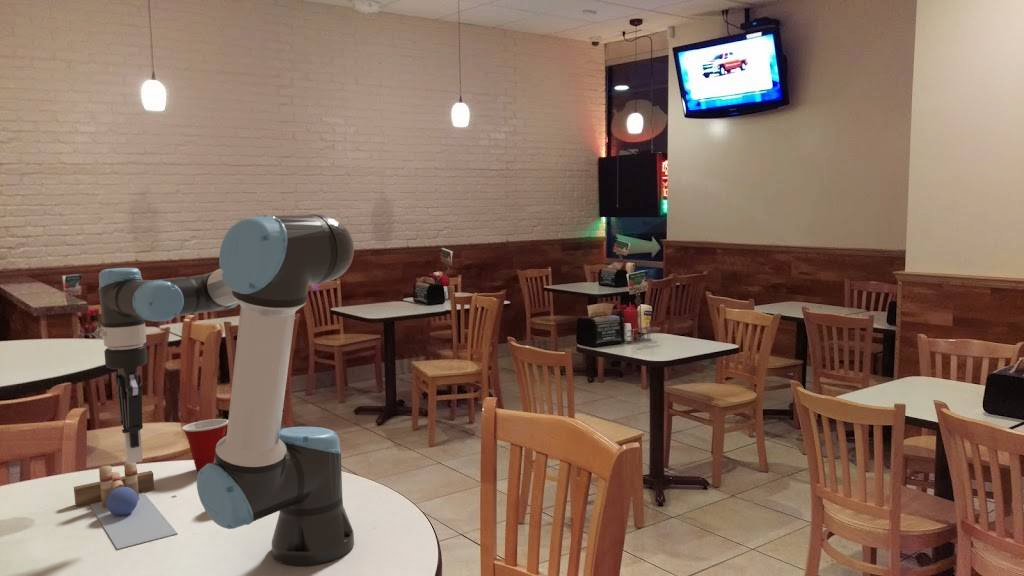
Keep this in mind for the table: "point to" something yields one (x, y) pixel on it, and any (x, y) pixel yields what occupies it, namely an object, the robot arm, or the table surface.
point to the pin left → (105, 483)
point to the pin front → (117, 480)
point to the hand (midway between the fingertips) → (134, 461)
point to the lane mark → (134, 524)
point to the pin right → (131, 477)
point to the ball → (122, 501)
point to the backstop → (93, 490)
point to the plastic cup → (205, 439)
